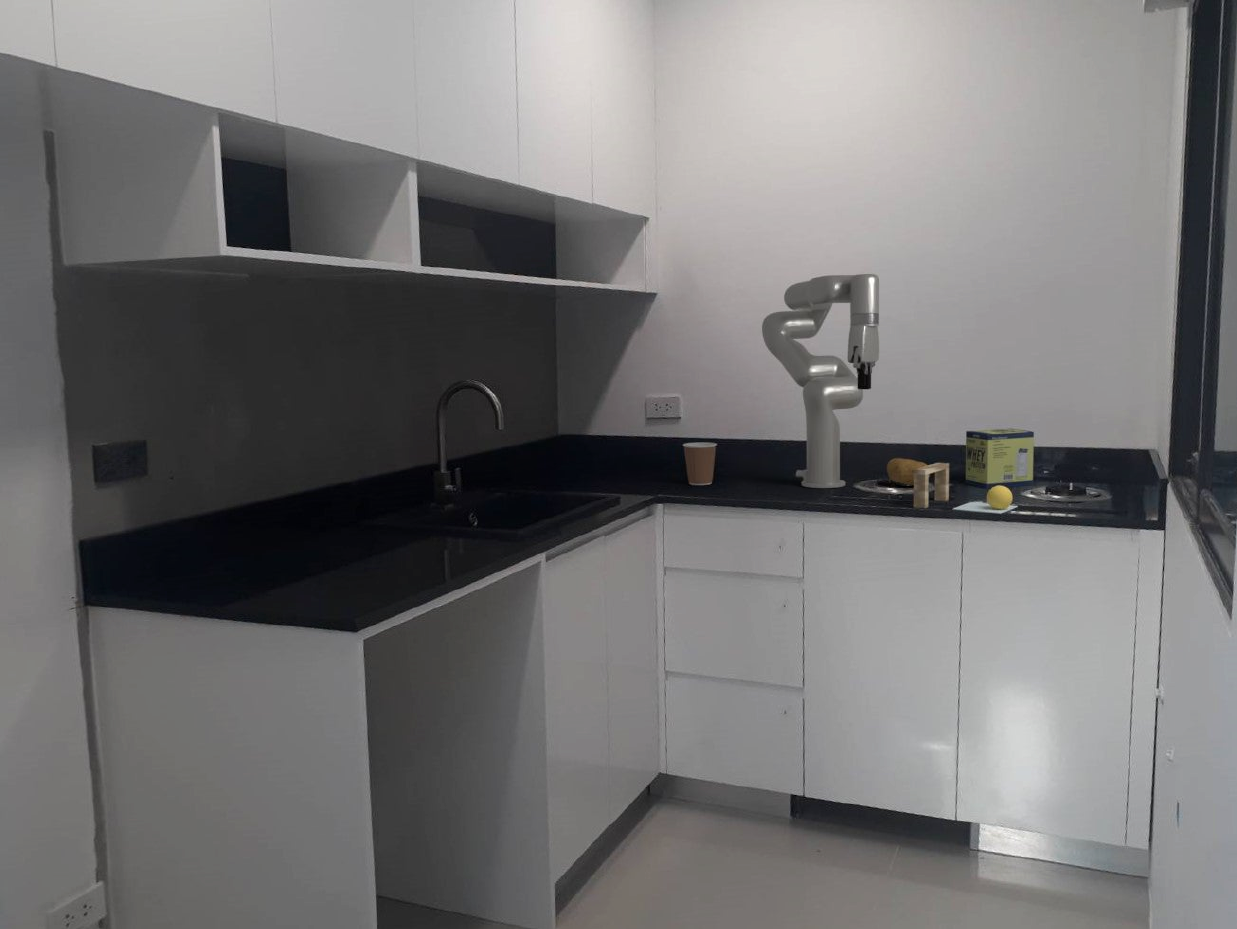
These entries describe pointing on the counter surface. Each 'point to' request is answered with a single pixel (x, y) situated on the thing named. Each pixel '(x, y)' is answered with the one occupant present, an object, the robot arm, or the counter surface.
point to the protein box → (999, 458)
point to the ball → (999, 497)
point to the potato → (903, 470)
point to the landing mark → (982, 508)
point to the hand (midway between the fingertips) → (864, 389)
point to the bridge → (923, 481)
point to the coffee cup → (700, 462)
